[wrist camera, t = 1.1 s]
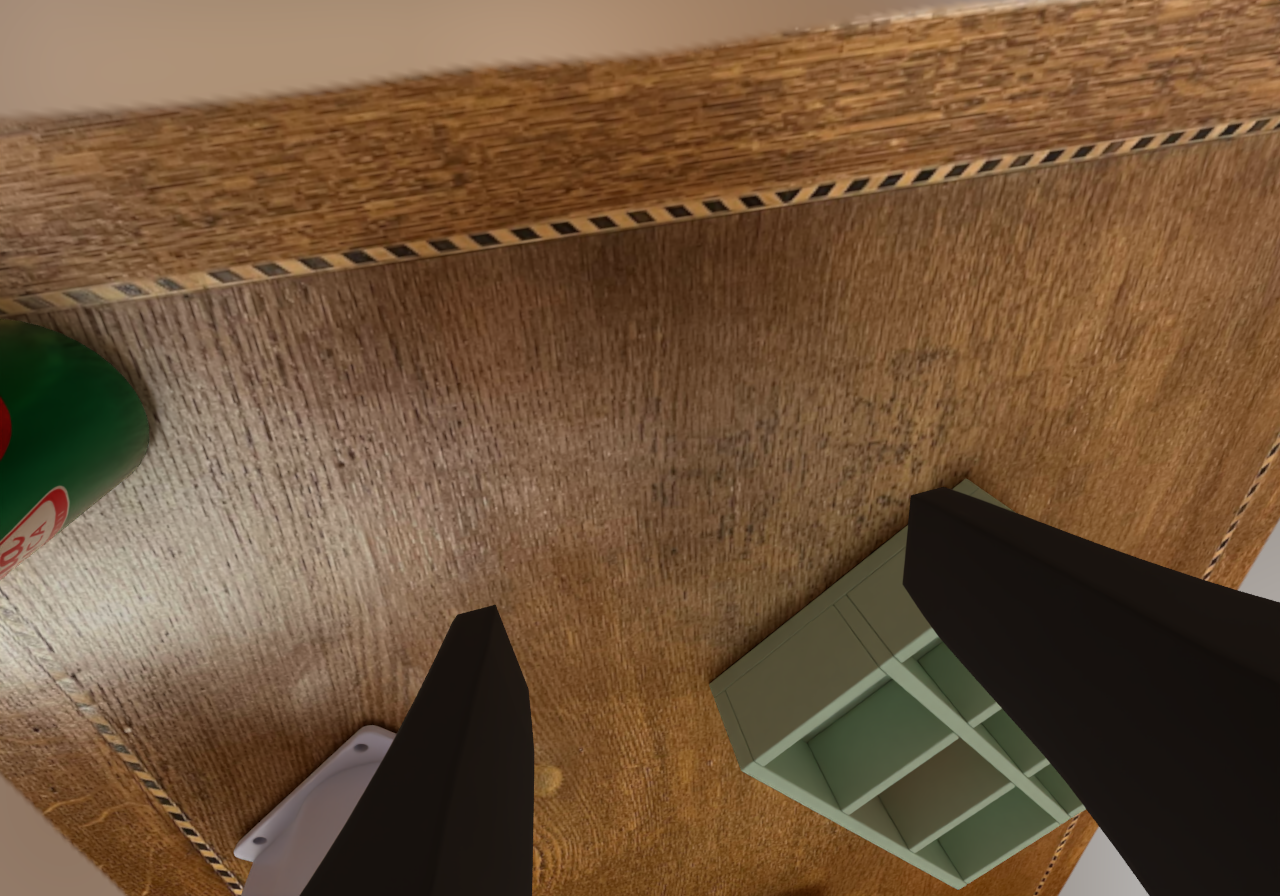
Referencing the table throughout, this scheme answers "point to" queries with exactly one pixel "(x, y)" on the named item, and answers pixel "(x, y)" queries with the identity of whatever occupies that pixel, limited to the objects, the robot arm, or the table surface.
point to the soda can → (59, 435)
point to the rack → (890, 728)
